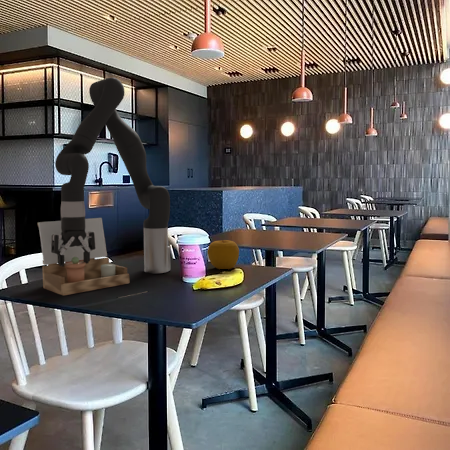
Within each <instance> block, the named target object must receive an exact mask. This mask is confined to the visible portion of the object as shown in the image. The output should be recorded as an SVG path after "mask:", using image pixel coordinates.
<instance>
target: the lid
mask: <svg viewBox="0 0 450 450" xmlns="http://www.w3.org/2000/svg"><path fill="white" fill-rule="evenodd" d="M37 227H38V230H39V232H38V233H39V237H40V239H39V240H40V247H41V253H42V264H43V266H48V264H55V263H57V264H58V255H57V254H55V253H52V252H51V243H52V235H53V234H55V235H61V233H62V230H61V220H55V221H54V220H53V221H51V220H50V221H40V222H39V221H38V222H37ZM85 232H86V233H88V232H94V236H95V249H94V250H91V251H90V259H92V258H95V259H100V258H107V257H108V253H107V245H106V238H105V232H104V225H103V218H102V217H94V218H93V217H92V218H85ZM84 241H85V242H86V244H87V246H88V238H87V237H85V239H84ZM62 242H63V240H62V239H61V238H60V241H59V244H58V249H59V248H60V245H61V243H62ZM83 252H84V250H83V249H82V248H81V247H80V246H74V247H69V248H68V249H67V250H66V251H65V252H64V254H63V255H64V263H65V262H70V261H71V260H72V258H73V257H78V258H79V260H84V258H83Z"/></svg>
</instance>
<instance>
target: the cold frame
mask: <svg viewBox="0 0 450 450" xmlns="http://www.w3.org/2000/svg"><path fill="white" fill-rule="evenodd" d="M79 262H84V261H79ZM65 264H66V263H65V262H64V267H61V266H59V265H58V263H55V264H47V265H42V269H41V271H42V287H43V288H42V289H44V290H47V291H50V292H53V293H55V294H57V295H61V296H68V295H73V294H78V293H83V292H84V293H85V292H90V291H95V290H101V289H105V288H111V287H117V286H122V285H127V284H128V285H129V284H131V283H130V273H128V267H126V266H121V265H118V264H115V274H116V275H115V276H109V277H103V278H101V265H104V264H111V262H110V258H109V257H99V258H92V259H90V261H89V263H87V264H86V263H85V267H84V279H85V281H79V282H73V283H67V268H66V265H65Z"/></svg>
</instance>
